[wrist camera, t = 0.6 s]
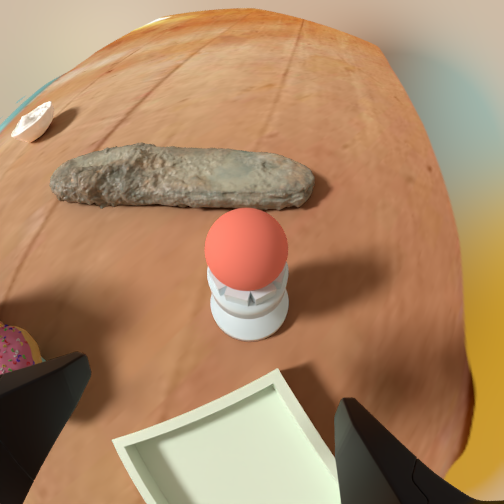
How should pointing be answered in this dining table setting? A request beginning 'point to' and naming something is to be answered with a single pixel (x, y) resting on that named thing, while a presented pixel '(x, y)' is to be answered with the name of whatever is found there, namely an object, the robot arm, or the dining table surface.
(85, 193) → the long grey stone
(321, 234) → the dining table surface
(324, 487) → the tray
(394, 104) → the dining table surface
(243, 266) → the ball
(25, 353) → the cupcake
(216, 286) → the chess rook
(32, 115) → the white bowl
